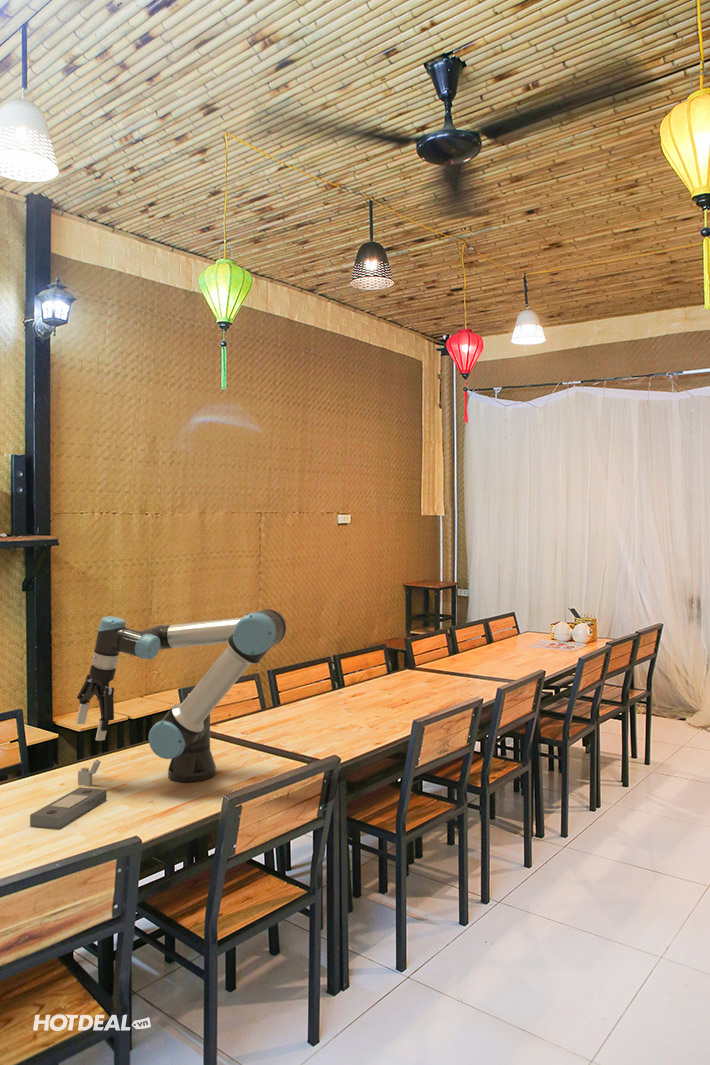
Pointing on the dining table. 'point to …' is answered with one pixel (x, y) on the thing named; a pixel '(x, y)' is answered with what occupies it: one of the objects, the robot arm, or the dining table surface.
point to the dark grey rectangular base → (68, 808)
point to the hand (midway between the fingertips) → (90, 731)
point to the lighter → (87, 774)
